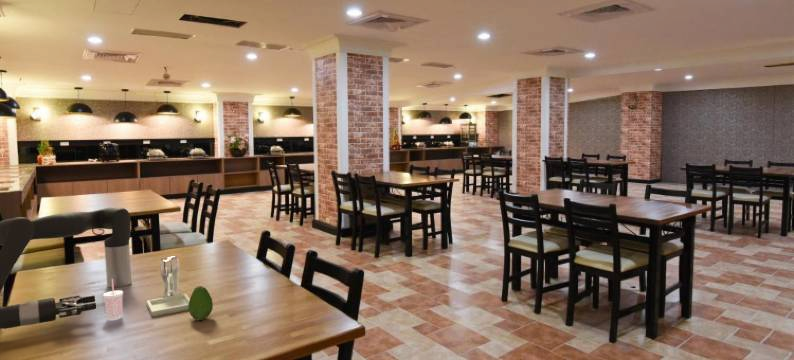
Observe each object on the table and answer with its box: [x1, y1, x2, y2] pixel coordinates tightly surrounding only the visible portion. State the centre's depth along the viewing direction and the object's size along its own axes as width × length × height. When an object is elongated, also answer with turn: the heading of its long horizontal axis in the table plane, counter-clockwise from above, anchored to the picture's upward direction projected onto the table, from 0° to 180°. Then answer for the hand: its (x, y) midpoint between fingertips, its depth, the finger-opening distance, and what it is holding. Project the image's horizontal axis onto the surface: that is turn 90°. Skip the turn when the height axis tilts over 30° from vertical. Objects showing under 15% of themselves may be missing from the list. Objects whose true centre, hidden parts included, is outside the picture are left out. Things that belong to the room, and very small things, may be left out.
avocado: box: [187, 285, 214, 321], centre depth 172 cm, size 8×8×12 cm
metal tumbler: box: [159, 255, 181, 298], centre depth 198 cm, size 7×7×15 cm
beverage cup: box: [102, 279, 124, 321], centre depth 174 cm, size 6×6×14 cm
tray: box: [145, 293, 191, 318], centre depth 184 cm, size 14×14×2 cm
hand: (95, 301), depth 171 cm, fingers open, 8 cm apart
